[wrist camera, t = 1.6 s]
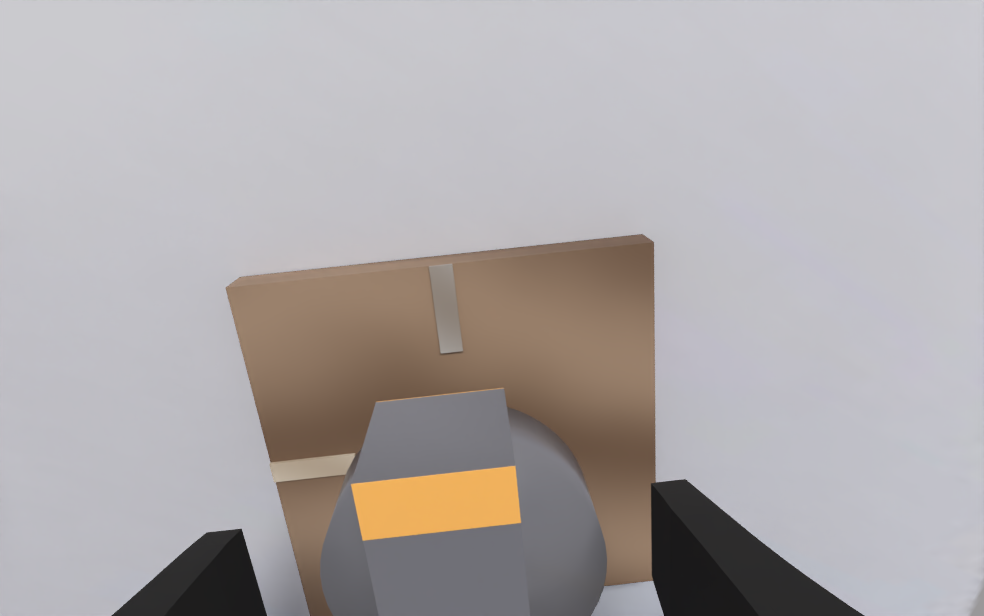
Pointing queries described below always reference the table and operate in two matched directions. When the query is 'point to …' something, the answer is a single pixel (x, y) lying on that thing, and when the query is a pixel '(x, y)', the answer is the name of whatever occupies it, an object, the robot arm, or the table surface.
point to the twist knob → (462, 516)
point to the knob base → (459, 370)
